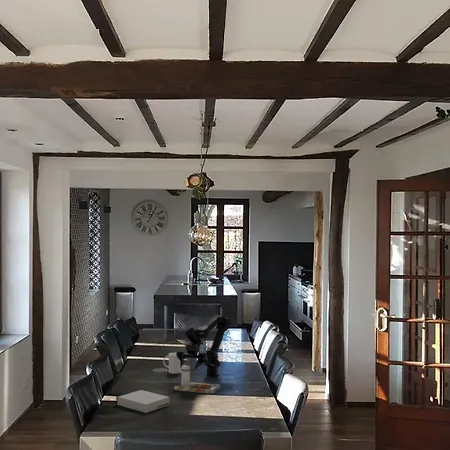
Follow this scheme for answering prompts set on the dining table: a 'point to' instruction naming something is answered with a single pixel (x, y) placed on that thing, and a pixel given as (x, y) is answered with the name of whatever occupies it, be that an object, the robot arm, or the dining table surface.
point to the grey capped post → (185, 376)
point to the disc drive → (142, 400)
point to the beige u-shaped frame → (201, 390)
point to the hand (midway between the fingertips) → (188, 368)
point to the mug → (173, 363)
